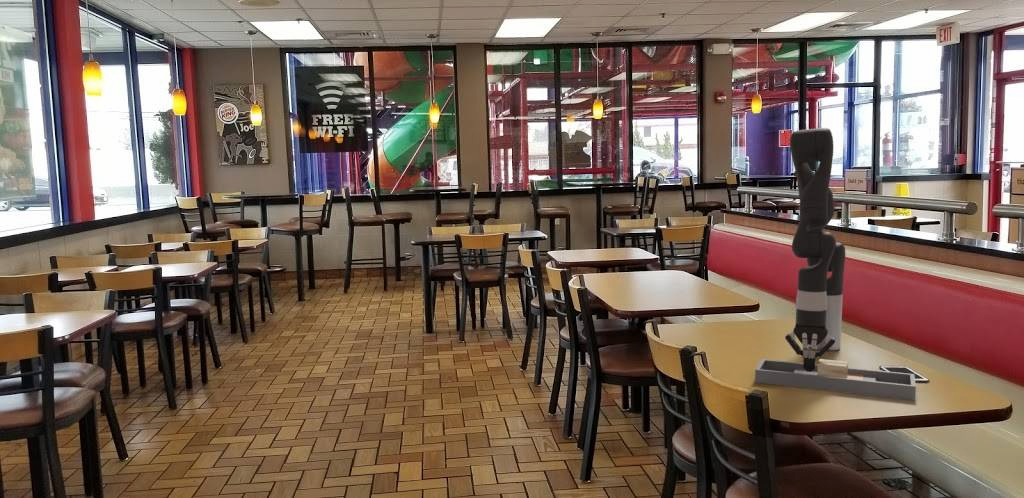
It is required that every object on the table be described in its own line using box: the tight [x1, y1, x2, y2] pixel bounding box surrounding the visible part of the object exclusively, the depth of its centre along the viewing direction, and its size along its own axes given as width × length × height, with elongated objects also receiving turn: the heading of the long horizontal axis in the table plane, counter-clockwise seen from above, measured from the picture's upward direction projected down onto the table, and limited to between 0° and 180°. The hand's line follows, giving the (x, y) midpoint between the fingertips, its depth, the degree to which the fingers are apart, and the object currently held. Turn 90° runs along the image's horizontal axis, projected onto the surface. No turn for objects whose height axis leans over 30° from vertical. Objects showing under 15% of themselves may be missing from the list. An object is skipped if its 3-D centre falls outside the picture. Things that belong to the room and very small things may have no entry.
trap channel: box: [754, 358, 917, 401], centre depth 204 cm, size 12×38×4 cm, turn 64°
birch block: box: [817, 358, 849, 378], centre depth 204 cm, size 5×7×4 cm
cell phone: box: [878, 365, 930, 384], centre depth 213 cm, size 8×15×1 cm, turn 177°
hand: (808, 370), depth 207 cm, fingers closed
